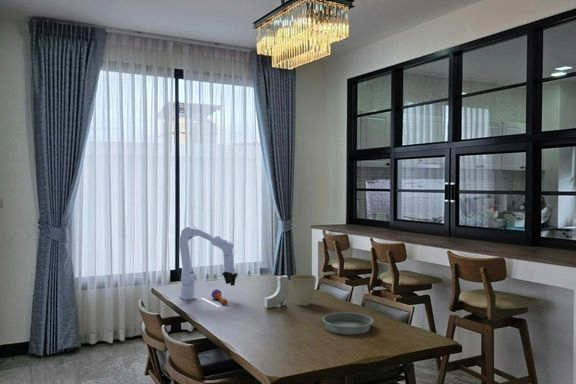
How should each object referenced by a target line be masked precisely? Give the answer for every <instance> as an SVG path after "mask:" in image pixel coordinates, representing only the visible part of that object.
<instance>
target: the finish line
mask: <svg viewBox="0 0 576 384" xmlns="http://www.w3.org/2000/svg"><path fill="white" fill-rule="evenodd" d="M200 299H201V300H202V301H204V302H207V303H209V304H210V305H213V306H214V307H216V308H221V306H220V305H218V304H216V303H214V302H213V301H210V300H208V299H207V298H205V297H200Z"/></svg>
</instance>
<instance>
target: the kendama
mask: <svg viewBox="0 0 576 384" xmlns="http://www.w3.org/2000/svg"><path fill="white" fill-rule="evenodd" d="M211 298H213V300H219V301H220V302H221V305H223V306H227V304H229V303H228V299H226V298H223V297H222V291H221V290H220V289H214V290H212V292H211Z"/></svg>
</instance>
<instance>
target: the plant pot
mask: <svg viewBox="0 0 576 384" xmlns="http://www.w3.org/2000/svg"><path fill="white" fill-rule="evenodd" d="M290 281H291V282H290V283H291V286H292V287H291V288H292V292H293V295H294V298H295V301H296V303H297V305H298V306H304V307H305V306H310V305H311V303H312V299H313V296H314V292H315V287H316V283H317V276H316V275H313V274H295V275H291V276H290Z"/></svg>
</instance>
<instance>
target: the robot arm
mask: <svg viewBox="0 0 576 384" xmlns="http://www.w3.org/2000/svg"><path fill="white" fill-rule="evenodd" d="M194 237H201V238H202V239H205V240H207V241H209V242H210V243H211V245H213V246H214V247H216V248H218V249H220V250H221V251H222V254H223V267H224V268H223V269H222V270H223V272H221V274H222V276H223V278H224V281H225V284H226V285H229V284H230V286H231V287H233V286H235V285H236V284H235V283H236V278H237V277H238V272H236V267H235V265H234V253H233V252H234V251H233V249H234V244H233V243H232V242H231V240H230V241H229V240H227V239H223V238H221V236H219V235H214V236H213V235H211V234H210V233H208V232H206V231H204V230H203V229H201V228H200V227H197V226H195V225H190V226H186V227H184V228H183V229H182V230H181V234H180V236H179V238H178V242H179V243H178V244H179V251H180V260H181V266H182V271H181V277H180V282H181V285H180V296H179V298H180V299H182V300H184V301H189V300H194V299H195V300H197V299H198V298H197V296H195V280H196V279H197V278H196V277H197V275H196V273H195V271H194V269H193V267H192V262H191V253H190V246H189V242H190V240H191V239H192V238H194Z"/></svg>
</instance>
